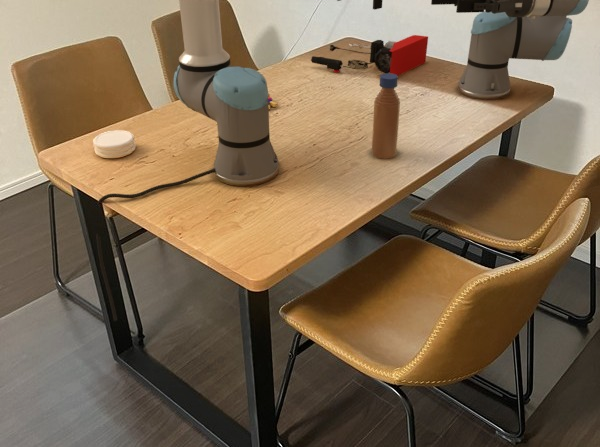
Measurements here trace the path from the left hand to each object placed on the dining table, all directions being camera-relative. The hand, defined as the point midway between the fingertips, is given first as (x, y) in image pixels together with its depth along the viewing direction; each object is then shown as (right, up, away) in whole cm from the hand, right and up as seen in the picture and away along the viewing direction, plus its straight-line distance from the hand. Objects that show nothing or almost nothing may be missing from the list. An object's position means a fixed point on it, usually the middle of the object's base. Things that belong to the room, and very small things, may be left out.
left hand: (358, 4), depth 166 cm
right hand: (+18, -7, -21) cm, 28 cm away
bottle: (+5, -41, -13) cm, 44 cm away
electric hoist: (+7, -5, +44) cm, 45 cm away
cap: (+5, -25, -24) cm, 35 cm away
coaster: (-62, -41, -10) cm, 75 cm away
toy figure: (-28, -24, +16) cm, 40 cm away
